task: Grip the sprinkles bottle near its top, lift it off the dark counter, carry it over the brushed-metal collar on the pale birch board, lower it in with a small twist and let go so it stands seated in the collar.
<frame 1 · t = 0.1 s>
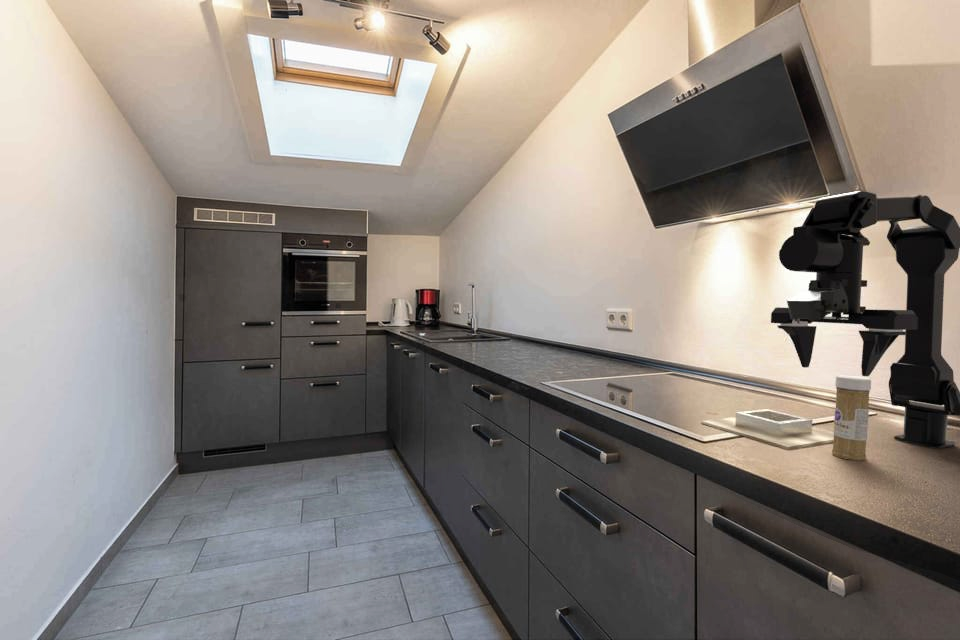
hand: (833, 371, 74), 14 cm above the worktop, fingers open, 9 cm apart
socket collar: (772, 422, 91), on the birch board
birch board: (772, 430, 91), on the worktop
sprinkles bottle: (848, 457, 77), on the worktop
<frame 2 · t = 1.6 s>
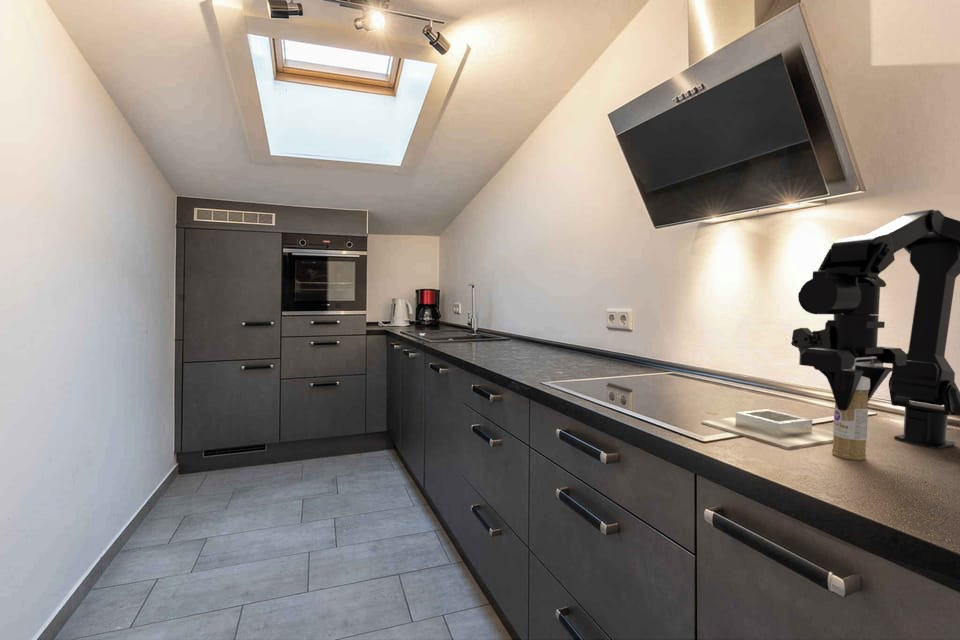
hand: (850, 408, 76), 8 cm above the worktop, fingers closed on sprinkles bottle, 4 cm apart
sprinkles bottle: (849, 457, 77), on the worktop, touching gripper
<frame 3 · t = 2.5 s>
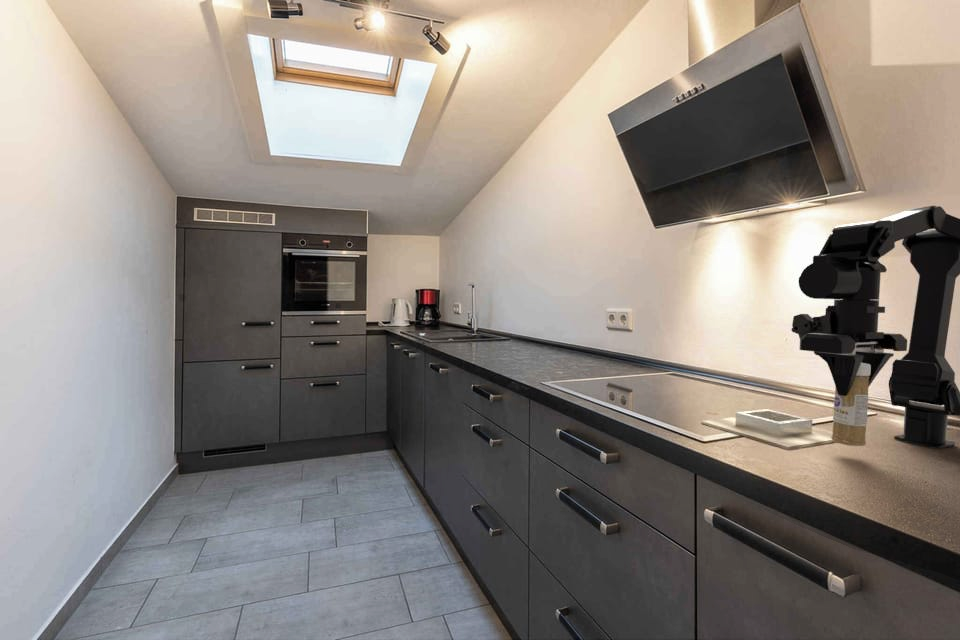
hand: (851, 394, 76), 10 cm above the worktop, fingers closed on sprinkles bottle, 4 cm apart
sprinkles bottle: (848, 444, 76), point 2 cm above the worktop, touching gripper
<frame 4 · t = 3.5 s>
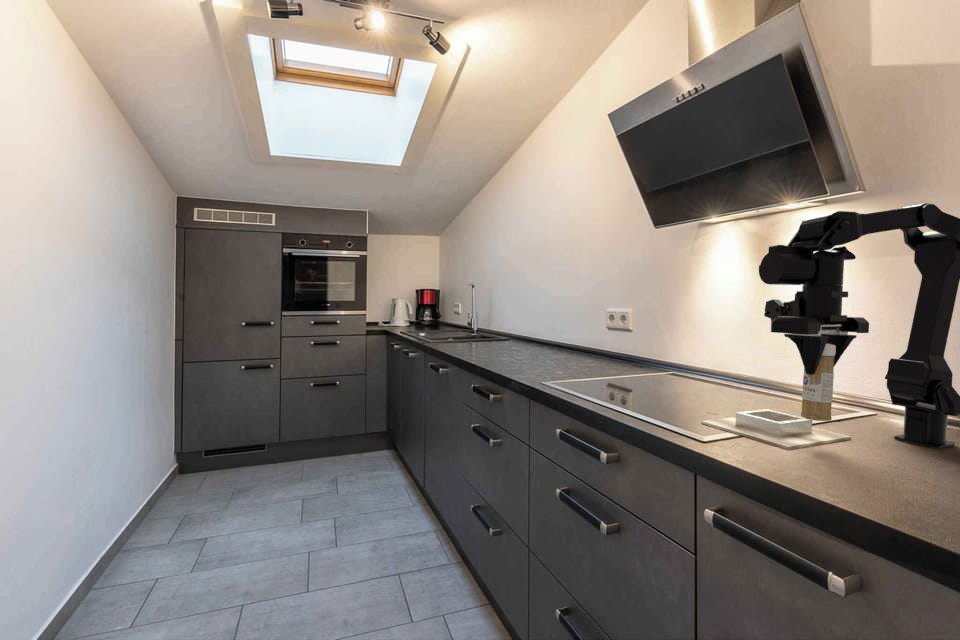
hand: (818, 373, 82), 13 cm above the worktop, fingers closed on sprinkles bottle, 4 cm apart
sprinkles bottle: (816, 419, 82), point 5 cm above the worktop, touching gripper
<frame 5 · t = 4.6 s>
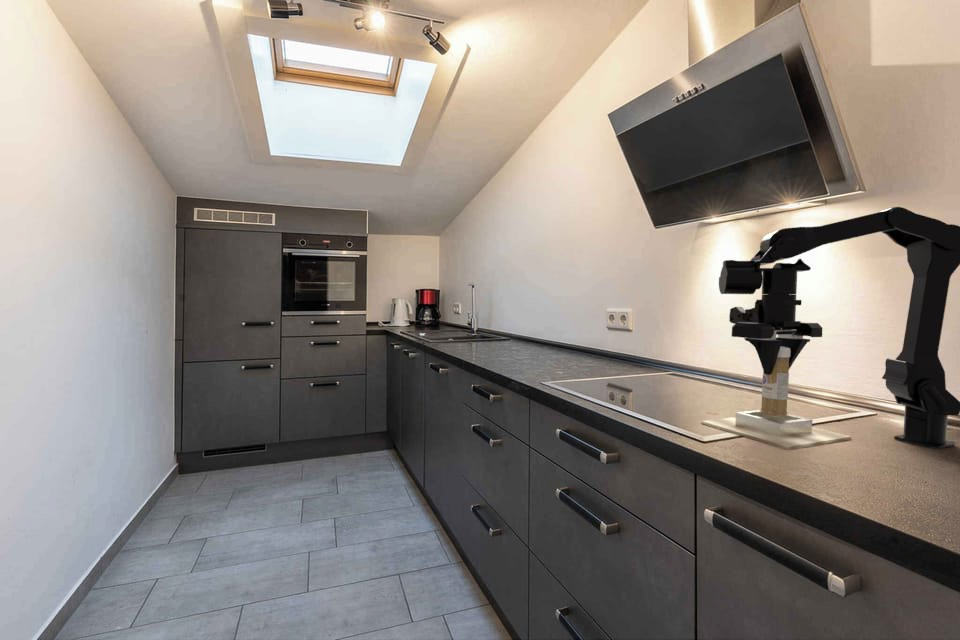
hand: (775, 373, 91), 11 cm above the worktop, fingers closed on sprinkles bottle, 4 cm apart
sprinkles bottle: (773, 415, 91), point 3 cm above the worktop, touching gripper
when the fingers open (9 cm above the worktop, at t = 5.5 s): sprinkles bottle stays where it is, resting on birch board.
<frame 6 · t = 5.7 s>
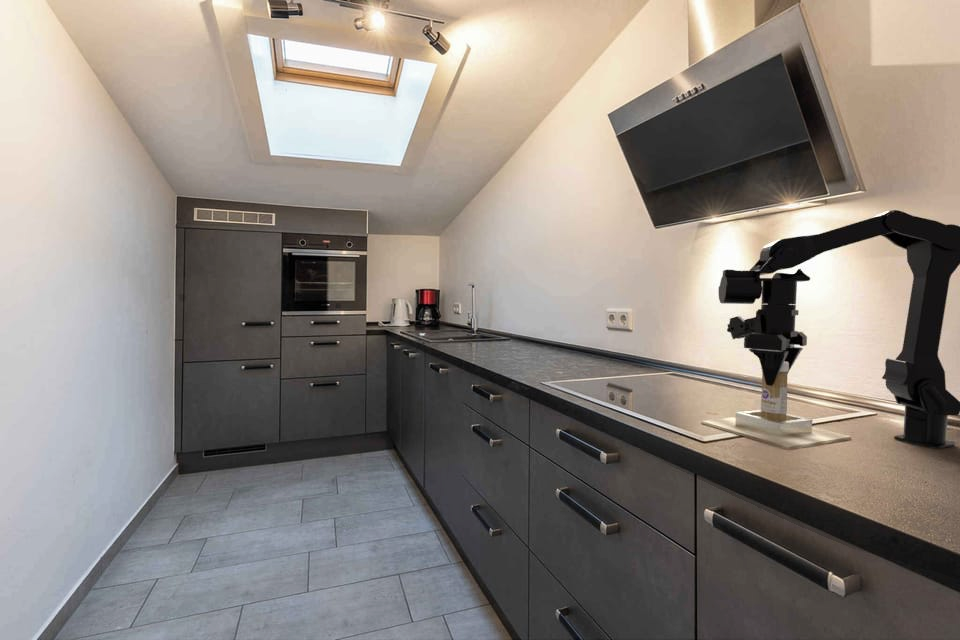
hand: (774, 383, 91), 9 cm above the worktop, fingers open, 6 cm apart
sprinkles bottle: (773, 429, 91), resting on birch board
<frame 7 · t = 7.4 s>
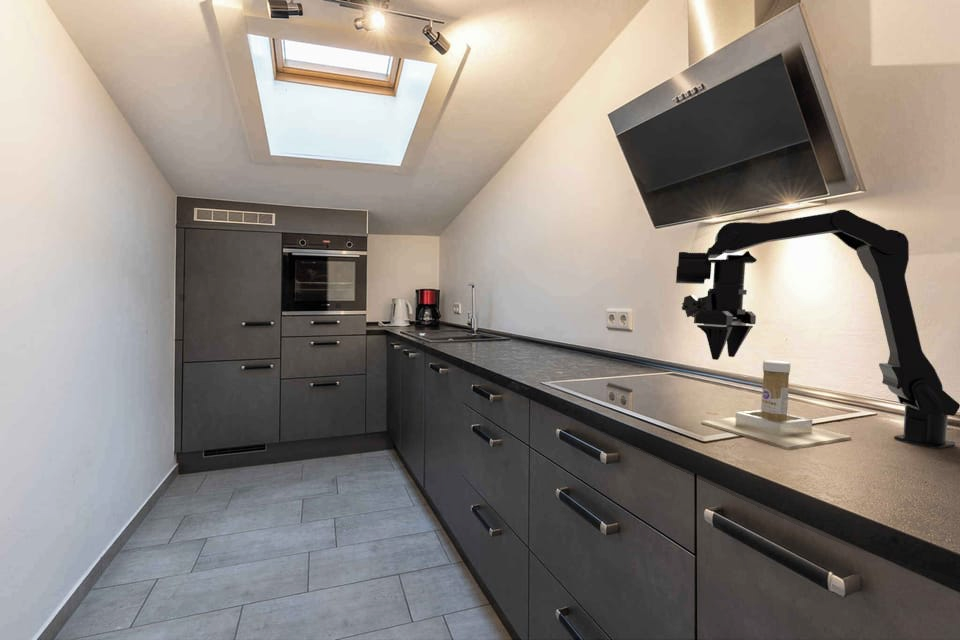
hand: (723, 358, 98), 14 cm above the worktop, fingers open, 9 cm apart
nothing on the worktop moved.
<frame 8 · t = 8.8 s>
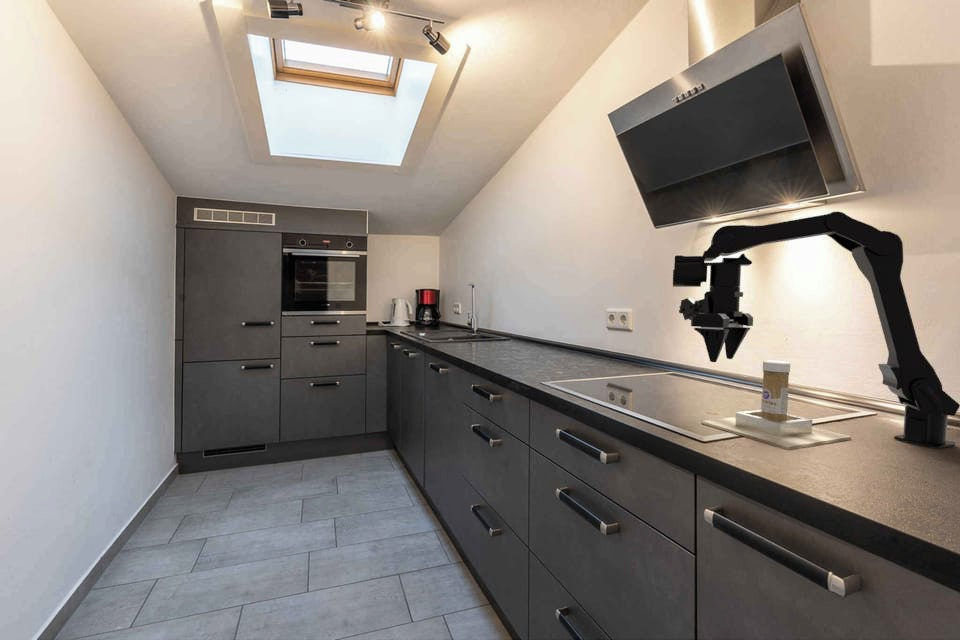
hand: (721, 360, 98), 13 cm above the worktop, fingers open, 9 cm apart
nothing on the worktop moved.
at the end: sprinkles bottle 0.1 cm off-centre on the socket collar, point 0.3 cm above the socket collar's base; sprinkles bottle tilted 0°; the gripper is holding nothing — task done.
